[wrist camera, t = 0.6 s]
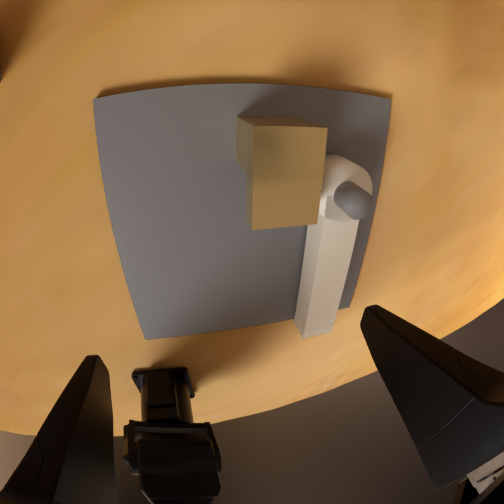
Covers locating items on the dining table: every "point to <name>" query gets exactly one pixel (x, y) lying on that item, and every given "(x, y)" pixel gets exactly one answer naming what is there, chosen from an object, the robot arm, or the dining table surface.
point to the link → (331, 244)
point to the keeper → (281, 169)
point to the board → (217, 200)
